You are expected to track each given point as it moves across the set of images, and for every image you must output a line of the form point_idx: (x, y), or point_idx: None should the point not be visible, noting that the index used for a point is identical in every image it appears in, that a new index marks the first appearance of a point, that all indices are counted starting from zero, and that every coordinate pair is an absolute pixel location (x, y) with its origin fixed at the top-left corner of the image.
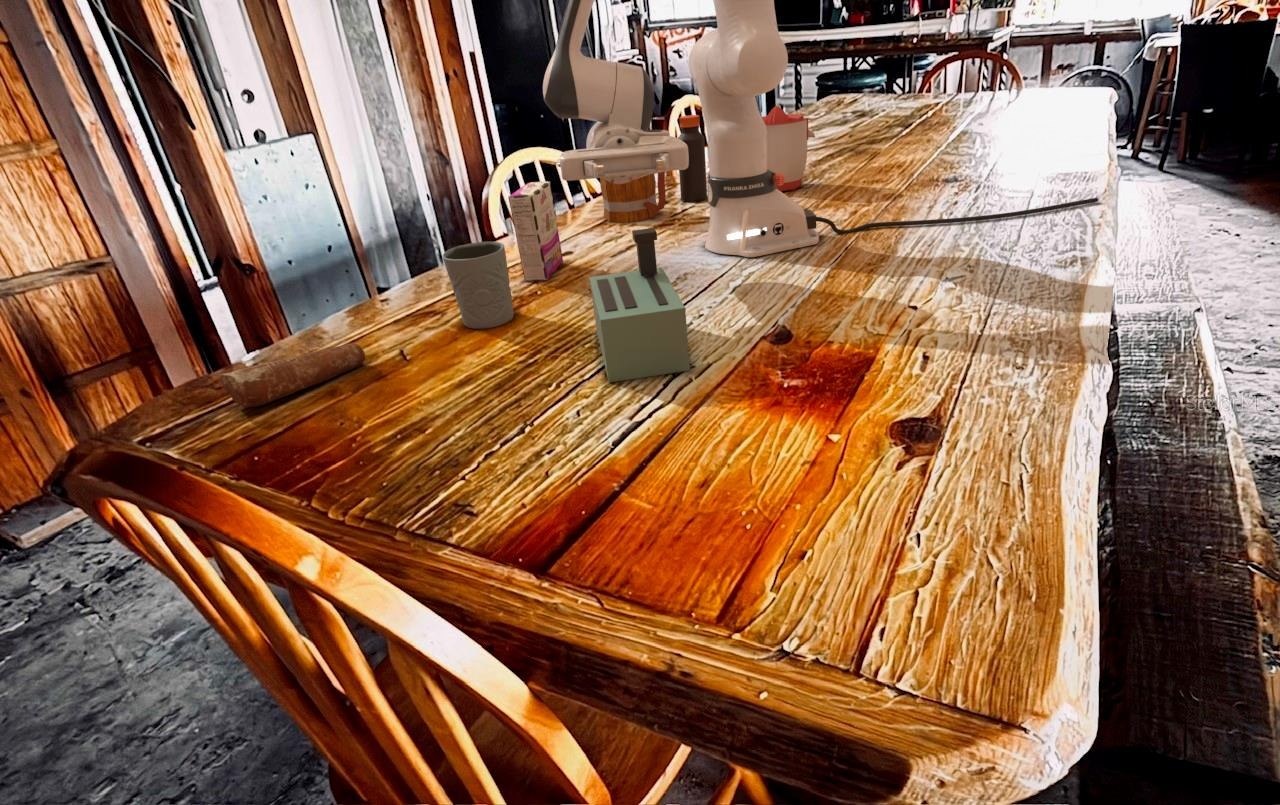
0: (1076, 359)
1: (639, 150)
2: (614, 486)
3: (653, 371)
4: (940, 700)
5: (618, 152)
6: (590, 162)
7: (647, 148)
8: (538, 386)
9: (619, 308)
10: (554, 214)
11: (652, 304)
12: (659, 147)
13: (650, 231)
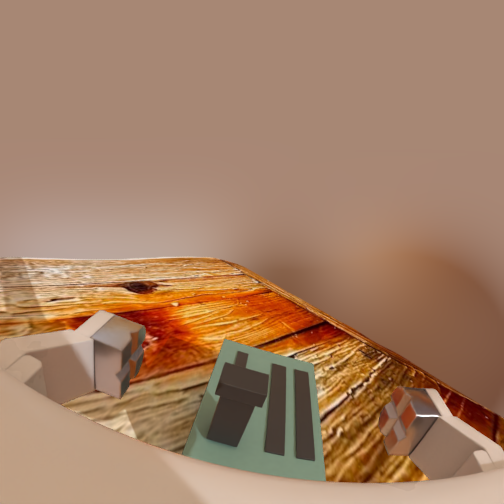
0: (19, 260)
1: (148, 447)
2: (296, 336)
3: None
4: (231, 265)
5: (359, 489)
6: (474, 436)
7: (50, 430)
8: (352, 437)
9: (291, 372)
10: None
11: (254, 360)
12: None
13: (234, 369)
